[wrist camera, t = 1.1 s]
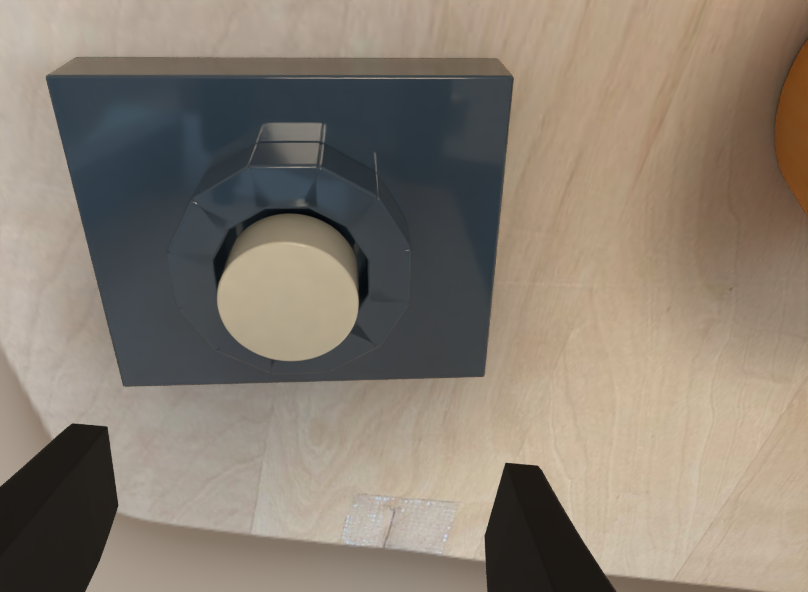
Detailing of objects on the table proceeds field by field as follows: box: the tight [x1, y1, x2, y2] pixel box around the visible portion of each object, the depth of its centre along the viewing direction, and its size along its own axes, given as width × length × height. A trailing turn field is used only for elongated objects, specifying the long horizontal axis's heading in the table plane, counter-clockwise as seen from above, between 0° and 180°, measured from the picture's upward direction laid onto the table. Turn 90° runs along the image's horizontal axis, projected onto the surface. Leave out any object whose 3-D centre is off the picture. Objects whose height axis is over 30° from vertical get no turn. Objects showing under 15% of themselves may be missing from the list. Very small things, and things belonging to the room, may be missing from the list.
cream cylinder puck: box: [217, 214, 359, 361], centre depth 18 cm, size 4×4×2 cm
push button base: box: [46, 57, 514, 387], centre depth 20 cm, size 12×10×4 cm
